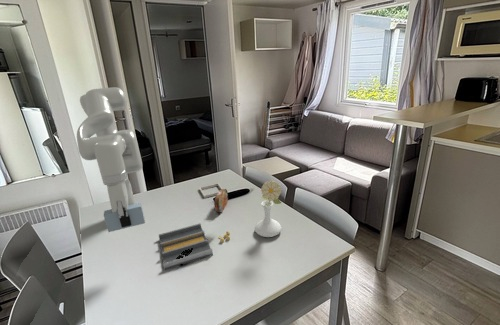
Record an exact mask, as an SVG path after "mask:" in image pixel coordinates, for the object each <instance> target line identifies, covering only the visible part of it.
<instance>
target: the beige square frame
mask: <svg viewBox="0 0 500 325" xmlns="http://www.w3.org/2000/svg"><path fill="white" fill-rule="evenodd" d="M216 187H218V188H219V190H221V189H224V188H223V187H222V186H221V184H220V183H219V182H217V183H213V184H207V185H203V186H199V187H198V188H199V189H198V190H199V192H200V193H201V195H202V197H203V199H206V198H210V197H216V196H217V194H218V192H219V191H216V192H212V193H207V194H205V193H204V191H203V190H207V189H211V188H216Z"/></svg>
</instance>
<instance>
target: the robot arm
mask: <svg viewBox="0 0 500 325" xmlns="http://www.w3.org/2000/svg"><path fill="white" fill-rule="evenodd" d="M127 102H128V101H127V96H126V93H125V91H123V90H122V88H120V87H116V86H115V87H114V86H113V87H100V88H94V89H90V90H88V91H87V92H86V93H85V94H82V95H81V96H80V98H79V103H80V105H81V108H82V109H83V112H84V113H85V114H86V118H85V119H84V120H83V121H82V123H80V125H79V127H78V129H77V131H76V142H77V150H78V153H79V154H80V157H81V158H82V159H83V160H85V161H95V160H96V162H97V166H98V169H99V173H100V176H101V181H102V183H103V185H104V186H106V187H107V194H108V198H109V199H108V200H109V203H110V207H111V209H112V212H113V213H115V212H116V211H117V210H118V214H119V219H120V223H121V227H127V226H131V220H130V216H129V215H128V212H127V209H128V205H133V204H136V201H135V197H134V193H133V188H132V184H131V180H129V179H128V178H129V177H128V174H132V173H136V172H139V171H141V170H143V160H142V155H141V152H140V148H139V143H138V140H137V136H136V134H135V132H134V131H133V130H131V129H123V130H117V127H116V123H115V116H114V112H115V111H116V112H117V111H123V110H125V109H126V108H127V104H128V103H127ZM94 135H96V136H94ZM125 151H128V152H126V153H125ZM124 211H125V212H126V213H125V212H124Z"/></svg>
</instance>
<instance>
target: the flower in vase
mask: <svg viewBox="0 0 500 325" xmlns="http://www.w3.org/2000/svg"><path fill="white" fill-rule="evenodd" d="M260 192H261V195H260V197H261V198H262V199H263V201H262V202H261V203H260V205H261V206H262V207H263V211H264V217H263V219H261V220H260V221H258V222H257V223H256V224H255V227H254V231H255V233H256V234H257V235H258V236H260V237H263V238H265V237H266V238H272V237H275V236H277V235H279V234H280V233H281V231H282V225H281V224H280V222H278V221H277V220H275V219H273V218H271V208H272V207H273V205H274V204H275V205H280V204H282V201H281V200H280V199H279V197H280V195H281V194H282V188H281V184H279V183H278V182H276V181H274V180H272V179H271V180H270V181H269V180H268V181H266V182H263V185H262V186H261V189H260Z"/></svg>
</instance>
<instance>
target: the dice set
mask: <svg viewBox="0 0 500 325" xmlns="http://www.w3.org/2000/svg"><path fill="white" fill-rule="evenodd" d="M230 235H231V233H230V231H226V233H223V236H222V235H221V236H220V235H219V236H218V239H220V243H221V244H222V243H225V239H226V241H230V240H231V236H230Z"/></svg>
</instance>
